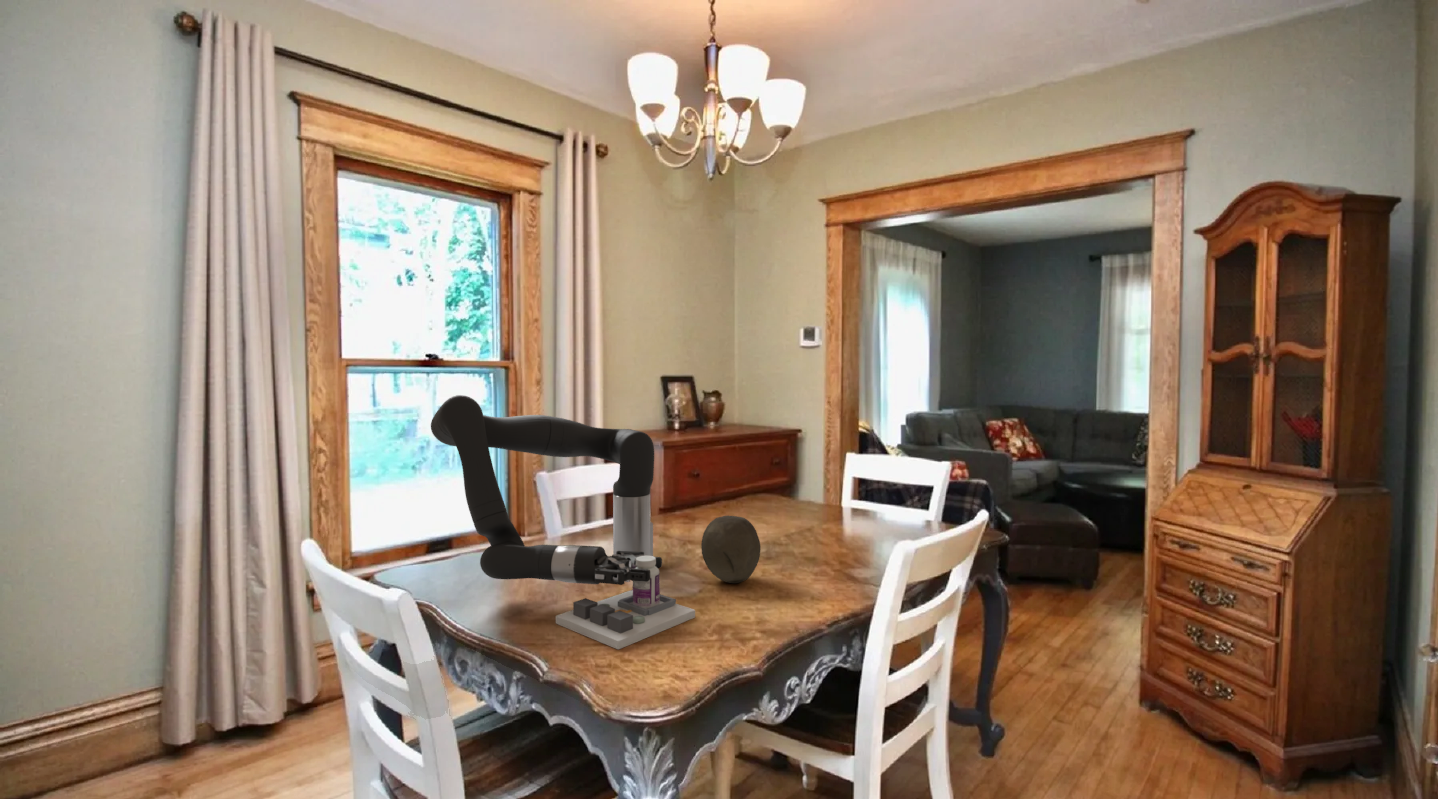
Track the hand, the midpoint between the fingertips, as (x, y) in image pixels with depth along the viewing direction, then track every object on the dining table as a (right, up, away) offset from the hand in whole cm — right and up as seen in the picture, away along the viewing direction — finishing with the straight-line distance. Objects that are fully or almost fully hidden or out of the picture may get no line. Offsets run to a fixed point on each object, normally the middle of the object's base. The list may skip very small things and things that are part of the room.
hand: (655, 569), depth 135 cm
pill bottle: (-2, -8, +1) cm, 8 cm away
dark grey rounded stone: (+15, -8, +21) cm, 27 cm away
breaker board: (-5, -9, -3) cm, 11 cm away
